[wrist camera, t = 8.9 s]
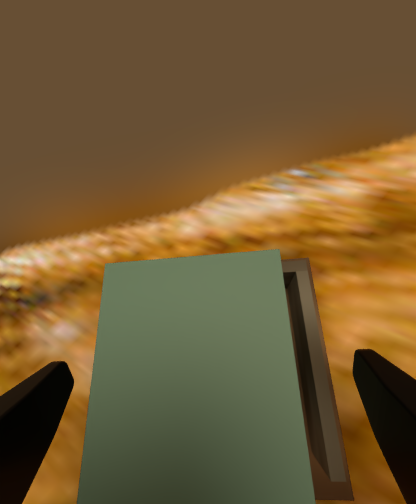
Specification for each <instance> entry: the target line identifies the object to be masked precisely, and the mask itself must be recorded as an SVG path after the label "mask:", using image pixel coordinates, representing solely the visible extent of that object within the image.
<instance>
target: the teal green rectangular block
mask: <svg viewBox="0 0 416 504" xmlns="http://www.w3.org/2000/svg"><path fill="white" fill-rule="evenodd" d="M77 504H316V503H315V496H314V489H313V482H312V475H311V468H310V461H309V454H308V447H307V440H306V433H305V426H304V419H303V412H302V405H301V398H300V391H299V384H298V377H297V370H296V363H295V356H294V349H293V342H292V335H291V328H290V321H289V314H288V306H287V299H286V292H285V285H284V278H283V271H282V264H281V257H280V250H279V249H275V250H263V251H252V252H240V253H228V254H216V255H204V256H192V257H180V258H168V259H156V260H144V261H132V262H120V263H108V264H105V272H104V280H103V288H102V297H101V305H100V313H99V322H98V330H97V339H96V347H95V355H94V364H93V372H92V380H91V389H90V397H89V406H88V414H87V422H86V431H85V439H84V447H83V456H82V464H81V473H80V481H79V489H78V498H77Z"/></svg>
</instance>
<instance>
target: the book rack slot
mask: <svg viewBox="0 0 416 504" xmlns="http://www.w3.org/2000/svg"><path fill="white" fill-rule="evenodd" d="M281 264H282V271H283V278H284V285H285V292H286V299H287V306H288V314H289V321H290V328H291V335H292V342H293V349H294V356H295V363H296V370H297V377H298V384H299V391H300V398H301V405H302V412H303V419H304V426H305V433H306V440H307V447H308V454H309V461H310V468H311V475H312V482H313V489H314V496H315V500H350V501H354V497H353V491H352V486H351V481H350V475H349V470H348V465H347V459H346V454H345V449H344V443H343V438H342V433H341V427H340V422H339V417H338V412H337V406H336V401H335V396H334V390H333V385H332V380H331V374H330V369H329V364H328V358H327V353H326V348H325V343H324V337H323V332H322V327H321V321H320V316H319V311H318V305H317V300H316V295H315V289H314V284H313V279H312V273H311V268H310V263H309V258H300V259H287V260H281Z"/></svg>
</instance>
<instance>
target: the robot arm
mask: <svg viewBox="0 0 416 504" xmlns="http://www.w3.org/2000/svg"><path fill="white" fill-rule="evenodd" d="M353 377H354V380H355V383H356V386H357V389H358V391H359V394H360V397H361V400H362V403H363V405H364V408H365V411H366V414H367V416H368V419H369V422H370V425H371V427H372V430H373V433H374V435H375V438H376V440H377V442H378V444H379V447H380V449H381V451H382V453H383V455H384V457H385V459H386V461H387V463H388V465H389V468H390V470H391V472H392V474H393V476H394V478H395V480H396V482H397V484H398V486H399V489H400V491H401V493H402V495H403V497H404V499H405V501H406V503H407V504H416V380H415V379H414V378H412V377H411V376H410V375H408V374H407V373H405V372H404V371H402V370H401V369H400V368H398V367H397V366H395V365H394V364H392V363H391V362H389V361H388V360H387V359H385V358H384V357H382V356H381V355H379V354H378V353H377V352H375V351H374V350H371V349H358V350H356V351H355V354H354V363H353ZM73 385H74V379H73V376H72V374H71V372H70V369H69V367H68V365H67V363H66V362H64V361H54V362H51V363H49V364H48V365H46V366H45V367H43V368H42V369H40V370H39V371H37V372H36V373H34V374H33V375H31V376H30V377H28V378H27V379H25V380H24V381H22V382H21V383H19V384H18V385H16V386H15V387H13V388H12V389H10V390H9V391H7V392H6V393H5V394H3V395H2V396H0V504H22V503H23V501H24V498H25V496H26V494H27V492H28V490H29V488H30V486H31V484H32V482H33V480H34V478H35V476H36V474H37V471H38V469H39V467H40V465H41V463H42V461H43V459H44V457H45V455H46V453H47V451H48V449H49V447H50V444H51V442H52V440H53V438H54V435H55V433H56V431H57V428H58V426H59V423H60V420H61V418H62V415H63V412H64V410H65V407H66V405H67V402H68V399H69V397H70V394H71V392H72V389H73Z"/></svg>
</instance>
